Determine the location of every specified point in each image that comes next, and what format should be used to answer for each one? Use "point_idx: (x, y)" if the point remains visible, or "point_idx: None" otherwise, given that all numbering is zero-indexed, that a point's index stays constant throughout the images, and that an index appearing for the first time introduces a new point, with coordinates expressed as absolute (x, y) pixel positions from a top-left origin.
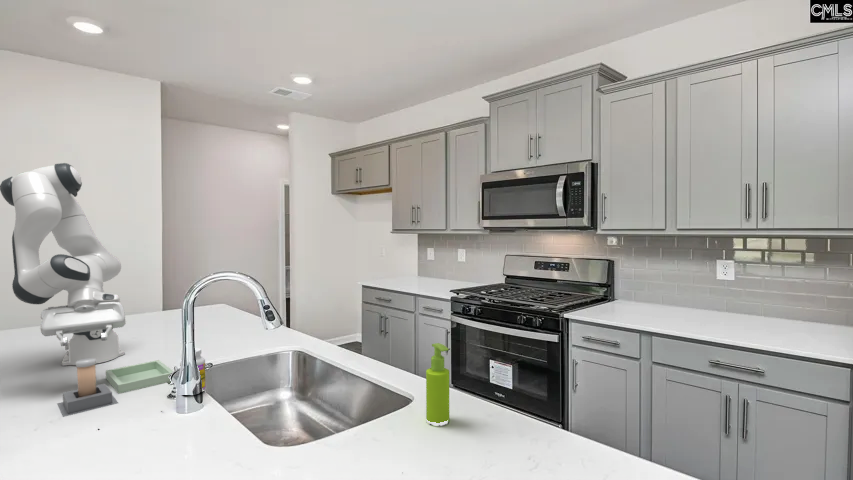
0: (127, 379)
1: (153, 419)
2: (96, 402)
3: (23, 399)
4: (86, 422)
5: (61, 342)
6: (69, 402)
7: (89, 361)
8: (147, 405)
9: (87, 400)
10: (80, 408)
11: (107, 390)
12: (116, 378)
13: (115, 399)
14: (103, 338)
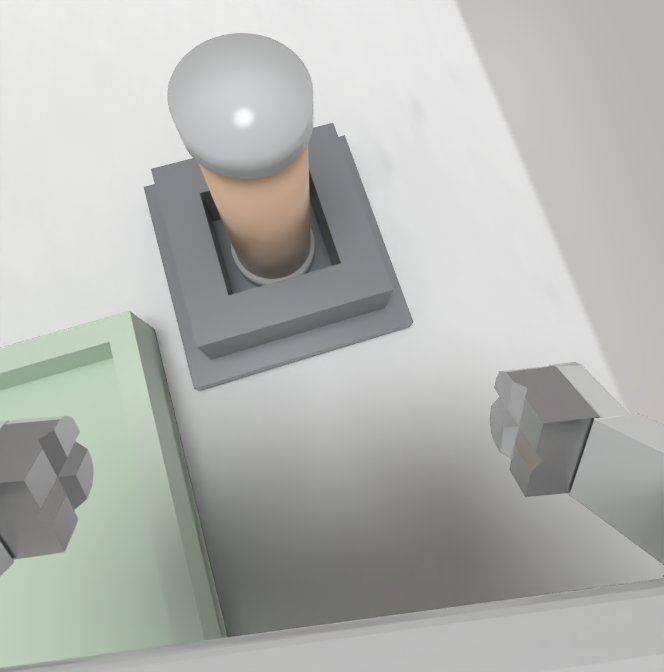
0: (105, 584)
1: (27, 4)
2: None
3: (614, 543)
4: None
5: (568, 364)
6: (326, 125)
7: (209, 45)
8: (36, 152)
9: None
10: None
11: (174, 209)
12: (143, 459)
13: (158, 241)
14: (43, 418)
